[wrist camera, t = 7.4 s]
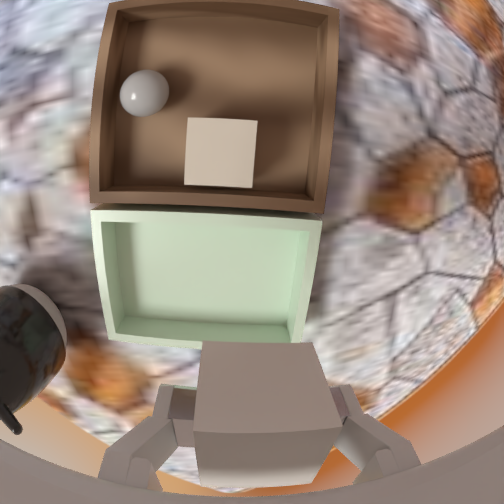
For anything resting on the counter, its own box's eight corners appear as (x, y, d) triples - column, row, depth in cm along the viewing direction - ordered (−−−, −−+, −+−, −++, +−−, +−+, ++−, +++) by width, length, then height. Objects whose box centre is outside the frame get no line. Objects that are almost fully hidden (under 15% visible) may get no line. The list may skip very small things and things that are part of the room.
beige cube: (196, 122, 19) (187, 117, 15) (252, 125, 19) (257, 120, 16) (192, 177, 20) (184, 184, 17) (248, 179, 21) (252, 188, 17)
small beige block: (202, 340, 10) (192, 431, 6) (312, 342, 10) (343, 426, 7) (204, 409, 11) (200, 486, 8) (294, 409, 12) (311, 483, 8)
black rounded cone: (84, 363, 27) (33, 470, 13) (14, 333, 25) (-48, 416, 11) (80, 286, 24) (-9, 402, 10) (4, 258, 22) (-90, 335, 8)
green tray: (109, 200, 21) (90, 210, 18) (309, 209, 23) (322, 220, 19) (120, 317, 25) (108, 339, 22) (291, 327, 26) (298, 351, 23)
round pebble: (131, 76, 17) (115, 67, 14) (175, 74, 18) (165, 62, 14) (127, 119, 18) (109, 116, 15) (171, 118, 19) (160, 113, 16)
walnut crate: (124, 18, 16) (109, 3, 13) (324, 25, 17) (339, 9, 14) (108, 194, 21) (90, 203, 18) (310, 203, 22) (323, 213, 19)
